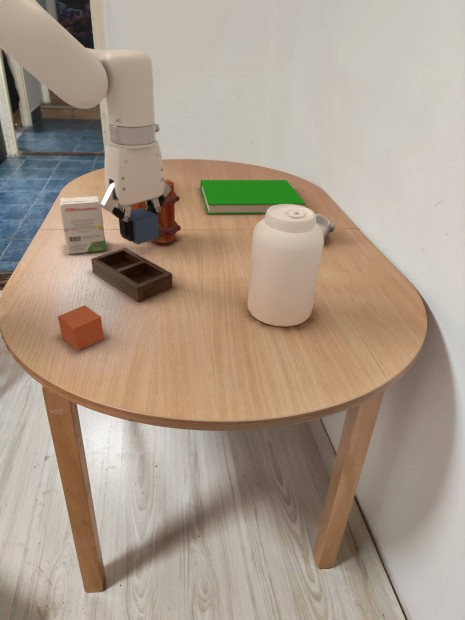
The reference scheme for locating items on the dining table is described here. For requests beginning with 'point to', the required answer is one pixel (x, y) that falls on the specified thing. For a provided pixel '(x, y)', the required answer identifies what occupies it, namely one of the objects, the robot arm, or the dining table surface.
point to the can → (284, 265)
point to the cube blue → (144, 225)
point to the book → (247, 195)
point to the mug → (165, 216)
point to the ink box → (82, 224)
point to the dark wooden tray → (132, 274)
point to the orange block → (81, 327)
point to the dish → (324, 225)
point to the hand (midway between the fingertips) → (140, 233)
